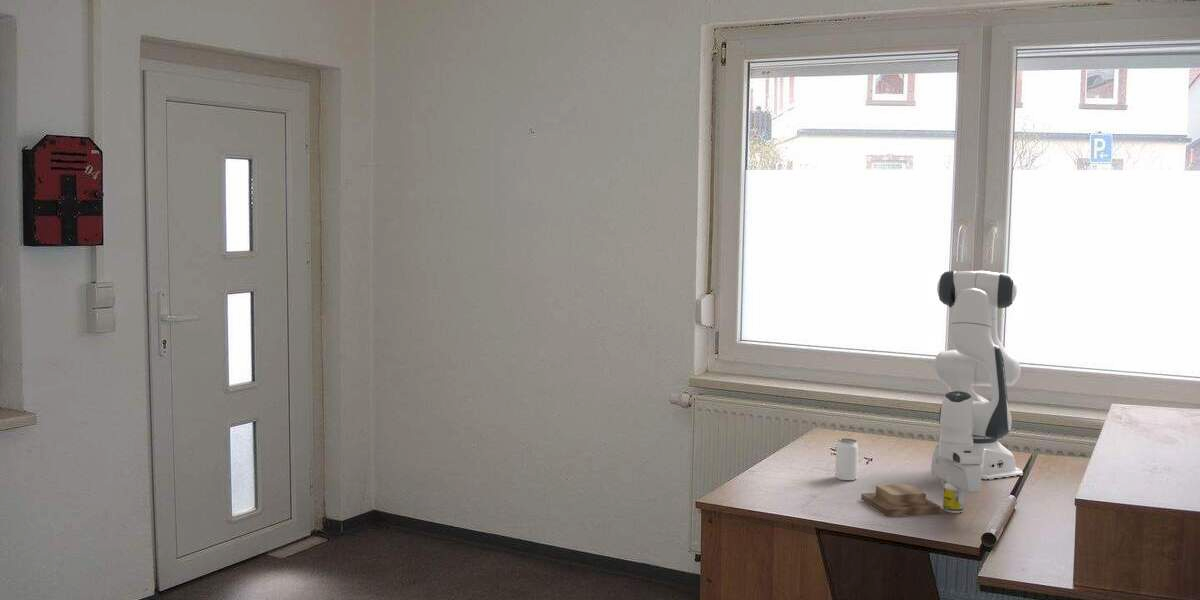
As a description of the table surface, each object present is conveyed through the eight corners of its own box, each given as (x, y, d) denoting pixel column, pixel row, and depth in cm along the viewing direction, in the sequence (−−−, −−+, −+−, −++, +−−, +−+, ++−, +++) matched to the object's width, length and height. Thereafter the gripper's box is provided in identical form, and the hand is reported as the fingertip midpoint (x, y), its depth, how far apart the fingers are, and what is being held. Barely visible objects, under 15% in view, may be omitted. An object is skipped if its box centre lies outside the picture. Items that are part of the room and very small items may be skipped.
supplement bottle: (939, 508, 293) (941, 473, 292) (958, 507, 293) (960, 473, 292) (947, 513, 287) (949, 478, 286) (966, 513, 288) (968, 478, 287)
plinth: (912, 497, 303) (912, 480, 302) (940, 513, 287) (941, 495, 287) (860, 500, 300) (861, 483, 299) (886, 516, 284) (887, 498, 283)
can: (857, 481, 319) (858, 443, 318) (835, 480, 321) (836, 442, 320) (856, 476, 326) (857, 438, 325) (835, 475, 327) (836, 437, 326)
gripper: (926, 442, 298) (924, 490, 299) (965, 460, 278) (963, 510, 279) (946, 441, 299) (944, 489, 301) (986, 459, 279) (984, 509, 281)
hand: (953, 499), depth 290 cm, fingers closed on supplement bottle, 5 cm apart
